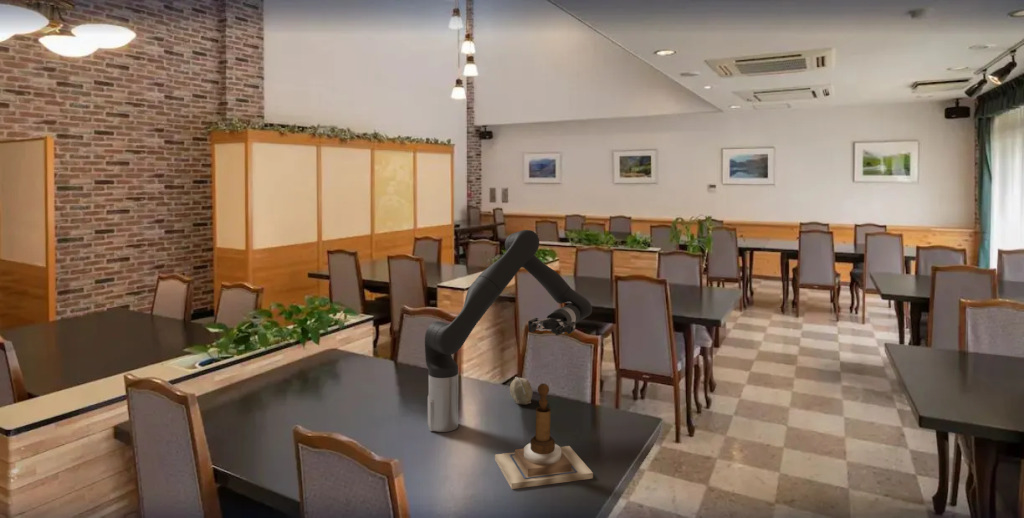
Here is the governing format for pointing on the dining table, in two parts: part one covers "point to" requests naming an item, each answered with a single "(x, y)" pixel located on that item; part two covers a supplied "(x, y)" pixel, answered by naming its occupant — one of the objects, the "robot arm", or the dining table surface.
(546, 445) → the wooden knobbed peg
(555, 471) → the beige flat stepped piece
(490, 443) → the dining table surface
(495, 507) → the dining table surface
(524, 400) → the garlic bulb
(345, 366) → the dining table surface
